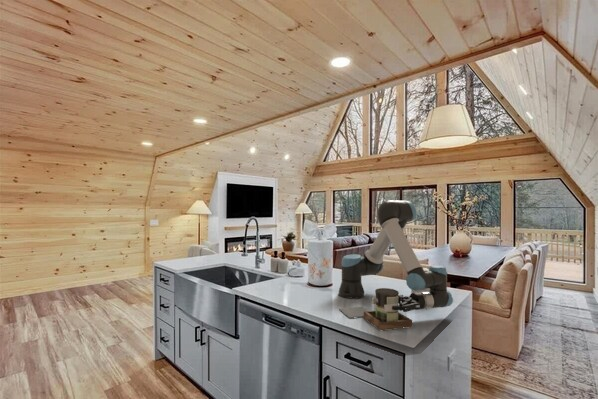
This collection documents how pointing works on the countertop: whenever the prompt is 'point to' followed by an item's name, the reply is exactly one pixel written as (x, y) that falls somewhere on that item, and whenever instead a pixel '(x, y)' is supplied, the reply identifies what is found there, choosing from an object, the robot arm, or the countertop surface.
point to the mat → (353, 311)
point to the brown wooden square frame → (387, 325)
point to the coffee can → (384, 298)
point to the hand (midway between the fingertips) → (378, 304)
